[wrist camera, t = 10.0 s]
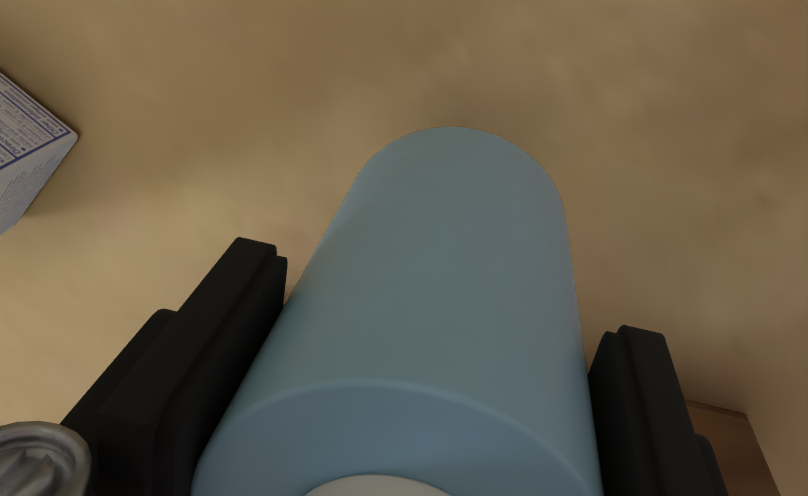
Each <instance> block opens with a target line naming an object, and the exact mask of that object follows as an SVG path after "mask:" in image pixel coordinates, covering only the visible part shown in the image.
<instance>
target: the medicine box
mask: <svg viewBox="0 0 808 496" xmlns="http://www.w3.org/2000/svg"><path fill="white" fill-rule="evenodd" d="M77 139H78V135H77V134H76V133H75V132H74V131H73V130H72V129H70V128H69V127H68V126H67V125H65V124H64V123H63V122H61V121H60V120H59V119H58V118H56V117H55V116H54V115H53V114H51V113H50V112H49V111H48V110H46V109H45V108H44V107H43V106H41V105H40V104H39V103H38V102H36V101H35V100H34V99H33V98H31V97H30V96H29V95H28V94H26V93H25V92H24V91H23V90H21V89H20V88H19V87H18V86H17V85H15V84H14V83H13V82H12V81H10V80H9V79H8V78H7V77H5V76H4V75H3V74H2V73H0V235H2V234H3V233H4V232H6V231H7V230H9V229H10V228H11V227H13V226H14V225H15V224H16V223H17V222H18V221H19V219H20V218H21V216H22V215H23V213H24V212H25V211H26V209H27V208H28V206H29V205H30V204H31V202H32V201H33V200H34V198H35V197H36V196H37V194H38V193H39V191H40V190H41V188H42V187H43V186H44V184H45V183H46V182H47V180H48V179H49V178H50V176H51V175H52V173H53V172H54V171H55V169H56V168H57V167H58V165H59V164H60V163H61V161H62V160H63V158H64V157H65V155H66V154H67V153H68V151H69V150H70V149H71V147H72V146H73V145H74V144H75V142H76V140H77Z"/></svg>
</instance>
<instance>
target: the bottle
mask: <svg viewBox="0 0 808 496" xmlns="http://www.w3.org/2000/svg"><path fill="white" fill-rule="evenodd" d="M190 496H604V491H603V484H602V476H601V469H600V462H599V455H598V447H597V440H596V433H595V426H594V418H593V411H592V404H591V397H590V389H589V382H588V375H587V368H586V360H585V353H584V346H583V339H582V331H581V324H580V317H579V310H578V302H577V295H576V288H575V281H574V273H573V266H572V259H571V252H570V244H569V237H568V230H567V223H566V217H565V212H564V207H563V204H562V201H561V198H560V196H559V193H558V191H557V189H556V187H555V185H554V183H553V182H552V180H551V178H550V177H549V176H548V174H547V173H546V172H545V170H544V169H543V168H542V167H541V166H540V165H539V164H538V163H537V161H536V160H535V159H534V158H533V157H531V156H530V155H529V154H528V153H526V152H525V151H524V150H523V149H521V148H520V147H518V146H516V145H515V144H513V143H511V142H510V141H508V140H506V139H504V138H501V137H499V136H497V135H494V134H492V133H488V132H485V131H481V130H478V129H472V128H465V127H437V128H429V129H425V130H421V131H417V132H414V133H411V134H408V135H406V136H403V137H401V138H399V139H397V140H395V141H393V142H392V143H390V144H388V145H387V146H385V147H384V148H383V149H381V150H380V151H379V152H377V153H376V154H375V155H374V156H373V157H372V158H371V159H370V160H369V161H368V162H367V163H366V164H365V166H364V167H363V168H362V170H361V171H360V172H359V173H358V175H357V177H356V179H355V181H354V182H353V184H352V186H351V188H350V189H349V191H348V193H347V195H346V197H345V198H344V200H343V202H342V204H341V206H340V207H339V209H338V211H337V213H336V214H335V216H334V218H333V220H332V222H331V223H330V225H329V227H328V229H327V231H326V232H325V234H324V236H323V238H322V239H321V241H320V243H319V245H318V247H317V248H316V250H315V252H314V254H313V256H312V257H311V259H310V261H309V263H308V264H307V266H306V268H305V270H304V272H303V273H302V275H301V277H300V279H299V281H298V282H297V284H296V286H295V288H294V289H293V291H292V293H291V295H290V297H289V298H288V300H287V302H286V304H285V306H284V307H283V309H282V311H281V313H280V314H279V316H278V318H277V320H276V322H275V323H274V325H273V327H272V329H271V331H270V332H269V334H268V336H267V338H266V339H265V341H264V343H263V345H262V347H261V348H260V350H259V352H258V354H257V356H256V357H255V359H254V361H253V363H252V364H251V366H250V368H249V370H248V372H247V373H246V375H245V377H244V379H243V381H242V382H241V384H240V386H239V388H238V389H237V391H236V393H235V395H234V397H233V398H232V400H231V402H230V404H229V406H228V407H227V409H226V411H225V413H224V414H223V416H222V418H221V420H220V422H219V423H218V425H217V427H216V429H215V431H214V432H213V434H212V436H211V438H210V440H209V441H208V443H207V445H206V447H205V448H204V450H203V452H202V454H201V456H200V457H199V459H198V461H197V464H196V467H195V470H194V474H193V478H192V484H191V494H190Z"/></svg>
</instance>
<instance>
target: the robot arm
mask: <svg viewBox="0 0 808 496" xmlns="http://www.w3.org/2000/svg"><path fill="white" fill-rule="evenodd" d="M286 274H287V258H286V257H282V256H277V250H276V246H275V245H272V244H268V243H264V242H259V241H255V240H250V239H246V238H242V237H238V238H236V239H235V240H234V242H233V243H232V244H231V245H230V247H229V248H228V249H227V250H226V252H225V253H224V254H223V255H222V257H221V258H220V259H219V260H218V262H217V263H216V264H215V265H214V267H213V268H212V269H211V270H210V271H209V273H208V274H207V275H206V276H205V278H204V279H203V280H202V281H201V283H200V284H199V285H198V286H197V288H196V289H195V290H194V291H193V293H192V294H191V295H190V296H189V298H188V299H187V300H186V301H185V303H184V304H183V305H182V306H181V308H180V309H179V310H178V311H172V310H168V309H160V310H158V311H156V312H155V313H154V314H153V315H152V316H151V317H150V318H149V320H148V321H147V322H146V323H145V324H144V325H143V327H142V328H141V329H140V330H139V331H138V332H137V334H136V335H135V336H134V337H133V338H132V339H131V341H130V342H129V343H128V344H127V345H126V347H125V348H124V349H123V350H122V351H121V352H120V354H119V355H118V356H117V357H116V358H115V359H114V361H113V362H112V363H111V364H110V365H109V366H108V368H107V369H106V370H105V371H104V372H103V373H102V375H101V376H100V377H99V378H98V379H97V381H96V382H95V383H94V384H93V385H92V386H91V388H90V389H89V390H88V391H87V392H86V393H85V395H84V396H83V397H82V398H81V399H80V400H79V402H78V403H77V404H76V405H75V406H74V407H73V409H72V410H71V411H70V412H69V413H68V414H67V416H66V417H65V418H64V419H63V420H62V422H61V423H60V424H55V423H49V422H43V421H28V422H15V423H11V424H7V425H3V426H0V496H190V494H191V484H192V478H193V474H194V470H195V467H196V464H197V461H198V459H199V457H200V456H201V454H202V452H203V450H204V448H205V447H206V445H207V443H208V441H209V440H210V438H211V436H212V434H213V432H214V431H215V429H216V427H217V425H218V423H219V422H220V420H221V418H222V416H223V414H224V413H225V411H226V409H227V407H228V406H229V404H230V402H231V400H232V398H233V397H234V395H235V393H236V391H237V389H238V388H239V386H240V384H241V382H242V381H243V379H244V377H245V375H246V373H247V372H248V370H249V368H250V366H251V364H252V363H253V361H254V359H255V357H256V356H257V354H258V352H259V350H260V348H261V347H262V345H263V343H264V341H265V339H266V338H267V336H268V334H269V332H270V331H271V329H272V327H273V325H274V323H275V322H276V320H277V318H278V316H279V314H280V313H281V311H282V309H283V301H284V292H285V283H286ZM588 382H589V389H590V397H591V404H592V411H593V418H594V426H595V433H596V440H597V447H598V455H599V462H600V469H601V476H602V484H603V491H604V496H729V495H728V492H727V489H726V486H725V483H724V480H723V477H722V474H721V472H720V469H719V466H718V463H717V460H716V457H715V454H714V451H713V448H712V446H711V444H710V442H709V440H708V439H707V438H706V437H705V436H703V435H700V434H696V433H695V432H694V429H693V425H692V422H691V419H690V416H689V413H688V410H687V407H686V403H685V400H684V397H683V394H682V391H681V388H680V385H679V381H678V378H677V375H676V372H675V369H674V366H673V363H672V359H671V356H670V353H669V350H668V347H667V344H666V341H665V338H664V336H663V334H661V333H657V332H653V331H648V330H644V329H639V328H635V327H631V326H626V325H622V326H621V327H620V328H619V329H618V331H617V333H613V332H609V331H607V332H605V334H604V335H603V337H602V339H601V341H600V344H599V347H598V349H597V352H596V355H595V357H594V360H593V363H592V365H591V368H590V370H589V373H588Z"/></svg>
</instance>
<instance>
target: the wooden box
mask: <svg viewBox="0 0 808 496" xmlns="http://www.w3.org/2000/svg"><path fill="white" fill-rule="evenodd" d="M283 307H284V306H283ZM685 403H686V407H687V410H688V413H689V416H690V419H691V422H692V425H693V429H694V432H695V433H696V434H700V435H703V436H705V437H706V438H707V439H708V440H709V442H710V444H711V446H712V448H713V451H714V454H715V457H716V460H717V463H718V466H719V469H720V472H721V474H722V477H723V480H724V483H725V486H726V489H727V492H728V495H729V496H780V493H779V491H778V489H777V486H776V484H775V482H774V479H773V477H772V475H771V472H770V470H769V467H768V465H767V463H766V460H765V458H764V456H763V453H762V451H761V449H760V446H759V444H758V441H757V439H756V437H755V434H754V432H753V430H752V427H751V425H750V422H749V421H748V418H747V415H745V414H741V413H737V412H733V411H728V410H724V409H720V408H716V407H711V406H707V405H703V404H699V403H695V402H690V401H686V400H685Z"/></svg>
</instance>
